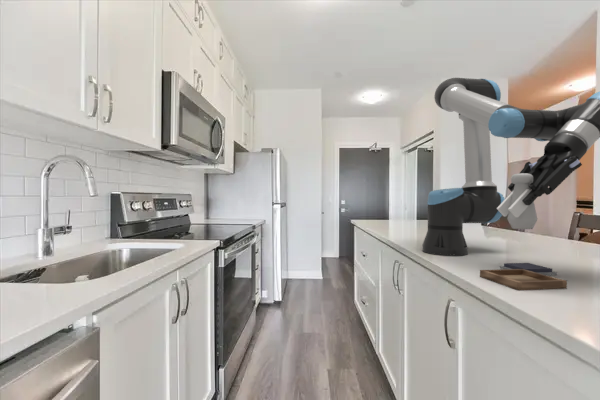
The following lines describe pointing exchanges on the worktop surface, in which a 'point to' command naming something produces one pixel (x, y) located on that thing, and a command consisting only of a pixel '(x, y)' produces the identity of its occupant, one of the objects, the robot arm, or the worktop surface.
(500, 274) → the tray
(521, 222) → the salt shaker
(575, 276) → the worktop surface
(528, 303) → the worktop surface
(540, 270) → the ink pad
